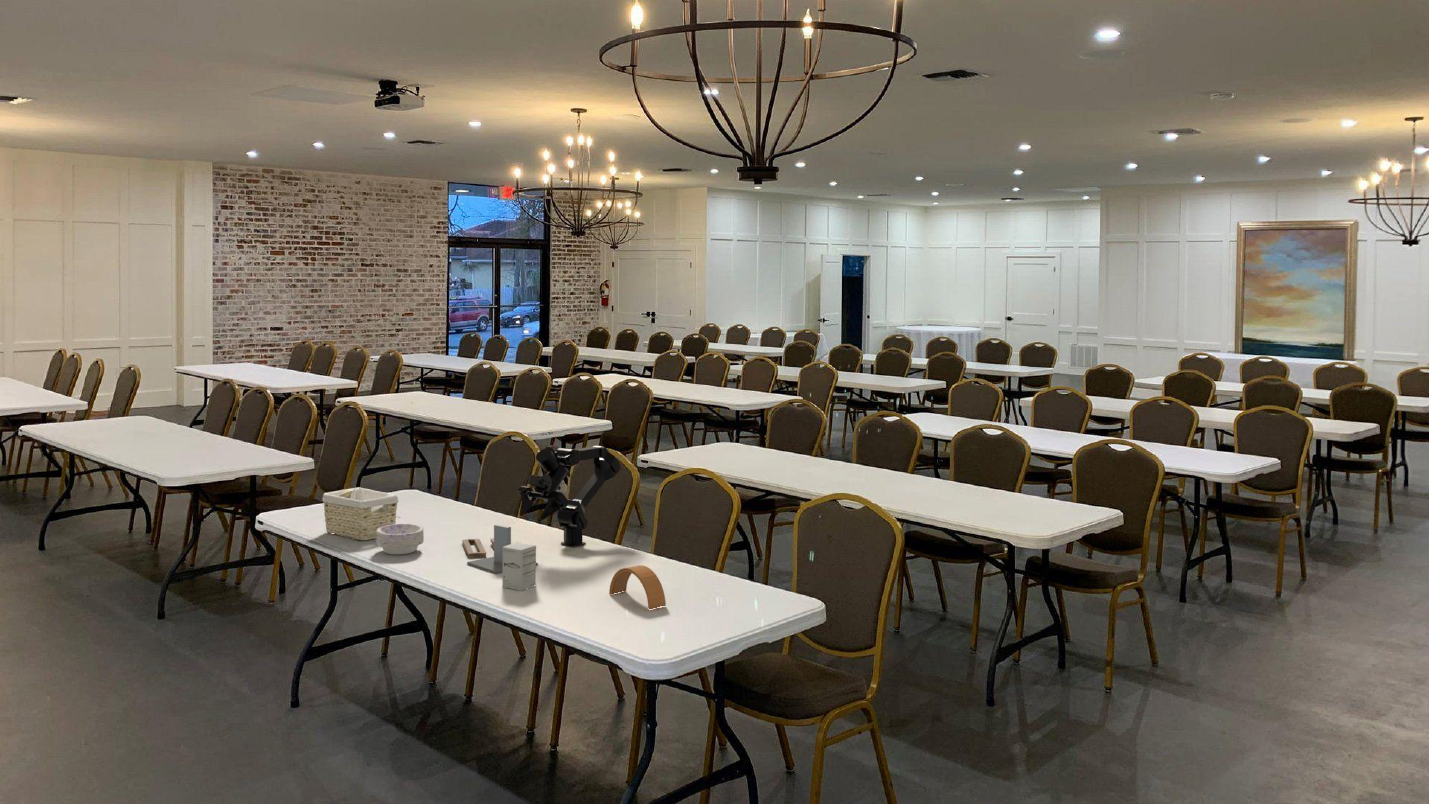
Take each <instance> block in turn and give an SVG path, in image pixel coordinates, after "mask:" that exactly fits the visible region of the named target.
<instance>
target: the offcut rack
mask: <svg viewBox="0 0 1429 804" xmlns="http://www.w3.org/2000/svg"><path fill="white" fill-rule="evenodd" d="M461 540H462V542H461V543H462V545H463V549H464V551H465V553H466V556H467V559H474V558H477V557H478V558H487V552H486V549H485V547H484V545H483V544H482V541H481V540H480V538H470V539H469V538H468V539H467V538H466V539H461ZM490 543H492V544H491V545H493V546H492V547H493V548H494V537H493V538H492V537H491V538H490ZM471 545H474V546H475V549H476V550H477V552H476V551H475V552H474V550H473V548H472V546H471ZM478 558H477V559H478Z"/></svg>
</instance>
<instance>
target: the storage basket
mask: <svg viewBox="0 0 1429 804" xmlns="http://www.w3.org/2000/svg"><path fill="white" fill-rule="evenodd" d="M322 502H323V507H324V514H323V515H324V517H325V519H324V521H325V531H326V533H329V534H331V533H334V534H333V535H335V534H337V536H339V535H340V536H339V537H346V538H348V539H353V540H358V541H359V540H360V541H368V540H369V541H370V540H374V539H377V536H376V531H377V529H378V528H380V527H383V526H387V525H393V524H397V523H396V522H397V521H396V519H397V510H398V509H397V508H398V503H399V497H398V494H393V493H388V492H384V491H383V492H382V491H379V490H378V491H377V490H373V489H368V488H363V487H360V486H358V487H353V488H347V489H346V488H345V489H340V490H335V491H328V492H324V493H323V495H322Z"/></svg>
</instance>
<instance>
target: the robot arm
mask: <svg viewBox="0 0 1429 804" xmlns="http://www.w3.org/2000/svg"><path fill="white" fill-rule="evenodd" d="M535 455H536V456H535V459H536V462H538V464H539V465H540V466H541V468H542V469H543V471H545V472H547V473H546V474H543V475H542V476H540V475H535V474H530V475H529V477H528V481H527V484H528V485H532V486H533V489H534V490H535V491H534V490H533V489H532V487H530V486H526V485H521V486H520V487H519V488H518V490H517V493H518V495H519V497H520V498H521V503H520V510H519V517H523V516H524V515H525V514H526V513H527V512H528V511H529V510H530V508H532V506H533V505H534V502H536V500H537V499H538V500H539V499H540V500H545V501H547V502H546V505H545V507H544V509H543V511H542V513H541V514H540V517H539V519H540V520H541V521H544V520H545V519H546V518H548V517H550V516H551V515H553V514H555V513H556V512H557V514H556V515H557V516H556V517H557V521H558V523H559V527H562V528H563V541H562V542H561V541H560V545H564V546H566V547H571V548H574V547H579V546H584V545H586V544H587V542H585V541H583V532H584V531H583V530H584V529H585V530H586V528H587V527H588V524H589V521H588V519H587V518H586V517H585V515H586V510H585V509H586V507H587V506H588V504H589V503H590V502H591V501H592V499H593V498H594V497H595V496H596V494H597V493H598V492H599V490H601V489H600V488H602V486H603V485H604V484H605V483H606V482H608V481H609V480H612V479H614V478H615V476H617V475H618V474H619V472H620V470H621V464H620V462H619V460H618V459H617V457H616V456H615V455H614V454H612V453H611V452H610V451H609V450H608V449H607V448H606V447H605V446H602V445H593V446H588V447H582V448H575V449H572V448H564V447H563V448H562V447H559V448H557V449H556V451H555V450H554V448H553V446H550V445H549V446H547V445H546V447H545V448H543V449H541V450H540V451H539V452H537V453H536V454H535ZM587 460H592V464H593V474H592V475H591V477H590V478H589V479H588V480H587V481H586V483H585V484H584V485H583V487H582V488H581V489H580V490H579V492H578V493H577V495H576V496H575V497H574V499H568V498H567V496H566V495H565V494H564V493H563V492H561V489H562V487H561V484H562V482H563V481H564V479H565V477H566V478H570V477H571V472H570V468H567V467H566V466H569V467H574V466H576V465H579V463H580V462H582V461H587Z"/></svg>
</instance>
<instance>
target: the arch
mask: <svg viewBox="0 0 1429 804" xmlns="http://www.w3.org/2000/svg"><path fill="white" fill-rule="evenodd" d="M632 574H633V575H634V576H635V577H636V578H637V579H638V580H639V582H640V584H641V586H642V587H643V589H644V592H645V595H646V600H647V608H649V609H653V608H657V607H660V606H666V607H667V605H666V602H667V601H666V597H665V592H664V588H663V586H662V583H661V581H660V579H659V577H658V576H657V574H656V573H655V572H654V571H653V570H652V569H651V568H650V567H648V566H646V565H643V564H642V565H640V564H639V565H634V566H629V567H624V568H620V569H619V570H617V571H616V572H615V574H614V575H613V576H612V579H611V582H610V583H609V584H610V585H609V593H608V594H614V593H618V592H622V591H626V592H627V588H628V586H627V585H628V582H629V579H630V577H631V575H632Z"/></svg>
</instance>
